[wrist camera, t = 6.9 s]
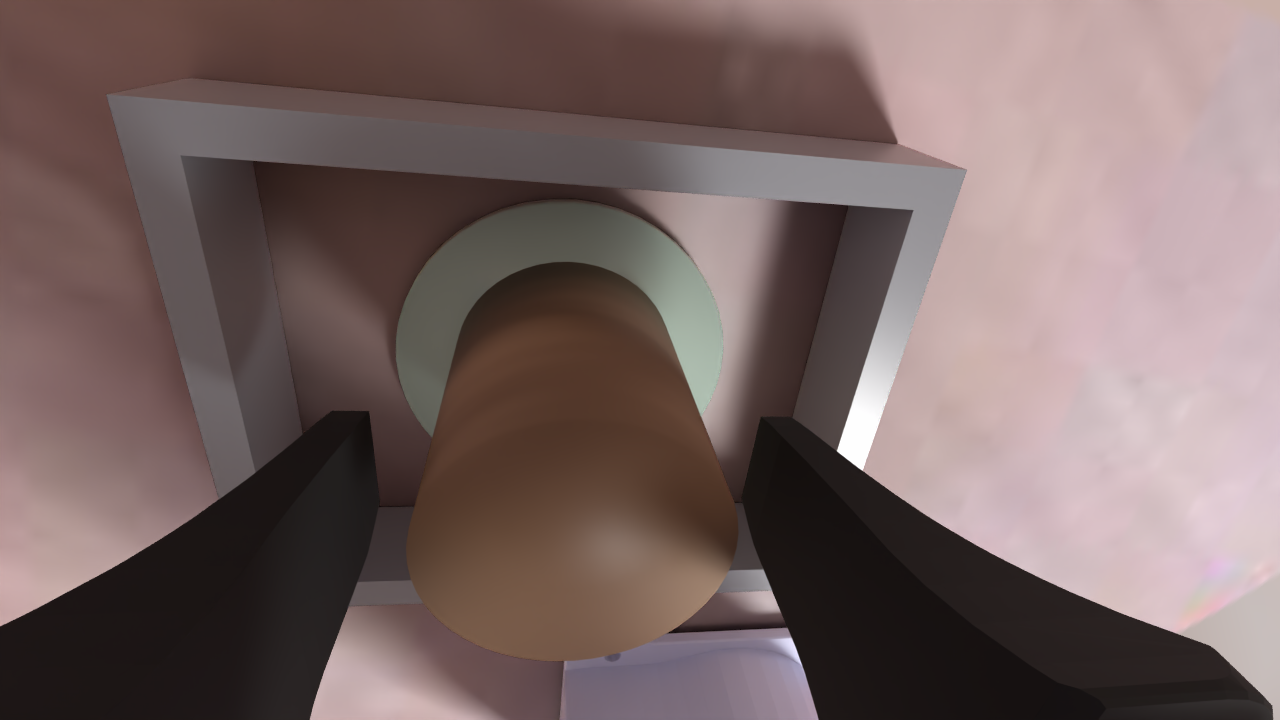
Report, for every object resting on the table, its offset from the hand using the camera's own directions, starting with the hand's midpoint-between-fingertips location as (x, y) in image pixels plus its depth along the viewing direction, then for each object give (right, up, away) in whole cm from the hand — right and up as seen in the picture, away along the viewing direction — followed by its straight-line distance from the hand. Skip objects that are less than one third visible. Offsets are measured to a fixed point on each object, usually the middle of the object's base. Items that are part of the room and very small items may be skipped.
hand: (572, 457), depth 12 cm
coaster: (-1, +2, +3) cm, 4 cm away
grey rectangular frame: (-1, +2, +3) cm, 4 cm away
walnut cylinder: (0, +2, +3) cm, 4 cm away
